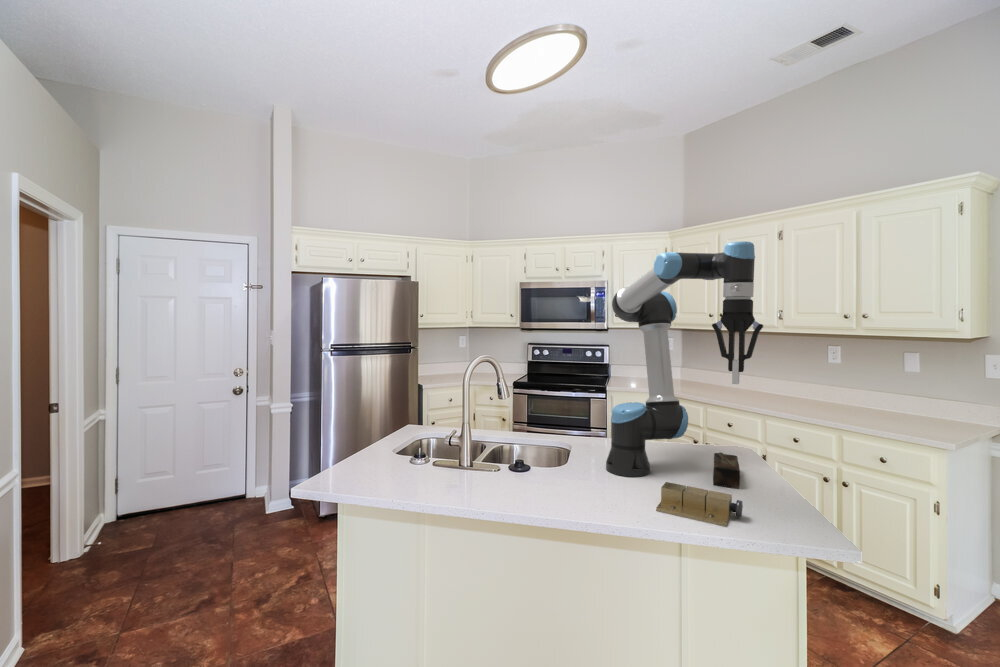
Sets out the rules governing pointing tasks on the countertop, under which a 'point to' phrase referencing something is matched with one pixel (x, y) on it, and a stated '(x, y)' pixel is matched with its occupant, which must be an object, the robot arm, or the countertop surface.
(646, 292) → the robot arm
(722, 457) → the dark brown rectangular block
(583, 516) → the countertop surface
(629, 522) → the countertop surface
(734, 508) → the hinge pin
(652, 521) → the countertop surface
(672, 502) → the hinge
